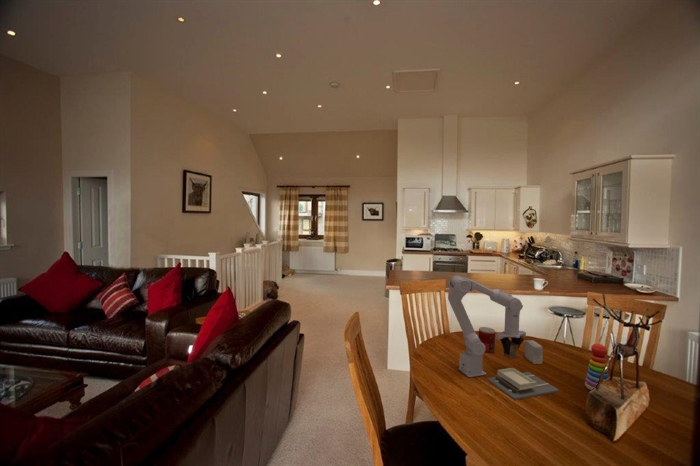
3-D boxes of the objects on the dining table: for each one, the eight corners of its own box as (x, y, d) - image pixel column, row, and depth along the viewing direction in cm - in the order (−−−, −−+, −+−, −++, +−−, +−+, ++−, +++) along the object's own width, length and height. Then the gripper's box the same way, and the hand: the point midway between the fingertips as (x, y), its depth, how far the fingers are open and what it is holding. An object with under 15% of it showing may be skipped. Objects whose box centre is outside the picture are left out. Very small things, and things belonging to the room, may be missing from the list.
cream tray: (520, 392, 118) (520, 384, 118) (497, 376, 130) (497, 370, 130) (536, 389, 120) (536, 382, 120) (512, 374, 132) (512, 367, 132)
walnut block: (510, 359, 134) (510, 345, 134) (503, 355, 138) (504, 342, 138) (517, 358, 135) (518, 345, 135) (510, 354, 139) (511, 341, 139)
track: (514, 400, 116) (514, 394, 116) (487, 379, 130) (487, 374, 130) (559, 391, 122) (559, 386, 122) (528, 373, 136) (528, 368, 136)
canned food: (492, 354, 155) (493, 333, 154) (476, 350, 160) (477, 329, 159) (496, 349, 161) (496, 329, 161) (480, 345, 166) (480, 325, 165)
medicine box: (542, 364, 145) (543, 346, 144) (533, 364, 145) (533, 346, 145) (533, 357, 153) (533, 340, 152) (524, 356, 153) (524, 340, 152)
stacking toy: (614, 396, 119) (617, 349, 118) (591, 393, 121) (593, 347, 120) (602, 385, 127) (604, 341, 126) (580, 383, 129) (582, 339, 128)
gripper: (505, 327, 130) (504, 358, 131) (532, 325, 134) (530, 354, 135) (493, 322, 137) (492, 351, 138) (519, 319, 141) (518, 348, 142)
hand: (510, 352), depth 137 cm, fingers closed on walnut block, 4 cm apart
